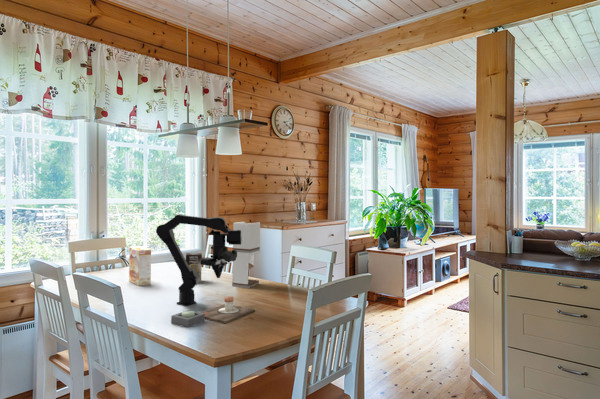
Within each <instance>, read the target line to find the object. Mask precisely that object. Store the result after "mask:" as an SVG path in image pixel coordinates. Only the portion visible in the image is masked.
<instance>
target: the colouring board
mask: <svg viewBox="0 0 600 399" xmlns="http://www.w3.org/2000/svg"><path fill="white" fill-rule="evenodd" d="M253 311H254V312H256V309H255V308H251V307H247V306H241V305H235V304H233V311H225V303H223V304H220V305H219V306H216V307H211V308H209V309H207V310H204V311H201V312H200V313H203V314H205V320H208V319H209V321H214V322H218V323H222V324H227V323H229V322H232V321H234V320H236V319H239V318H242V317H245V316H246V315H248V314H251V313H253Z"/></svg>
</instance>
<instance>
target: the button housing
mask: <svg viewBox="0 0 600 399" xmlns="http://www.w3.org/2000/svg"><path fill="white" fill-rule="evenodd" d="M185 311H191V310H188V309H187V310H185ZM185 311H182V312H185ZM182 312H178V313H175V314H173V315H171V316H170V319H171V320H170V322H171V324H173V325H177V326H180V327H185V328H190V327H194V326H195V325H198V324H201V323H204V322H205V320H206V319H205V314H203V313H201V312H197V311H194V312H195V316H193V317H190V318H186V317H182Z"/></svg>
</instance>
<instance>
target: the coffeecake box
mask: <svg viewBox="0 0 600 399" xmlns="http://www.w3.org/2000/svg"><path fill="white" fill-rule="evenodd" d="M128 250H129V252H128V253H129V260H128V261H129V265H128V266H129V270H128V274H129V276H128V281H129V282H130V283H132V284H134V285H137V286H139V287H140V286H147V285H151V284H152V283H151V282H152V280H151V277H152V249H151V248H148V247H145V246H141V245H139V246H129V249H128Z"/></svg>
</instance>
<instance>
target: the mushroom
mask: <svg viewBox="0 0 600 399" xmlns="http://www.w3.org/2000/svg"><path fill="white" fill-rule="evenodd" d="M234 299H235V298H234V296H230V295H229V296H224V304H225V311H233V305H234Z"/></svg>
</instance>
